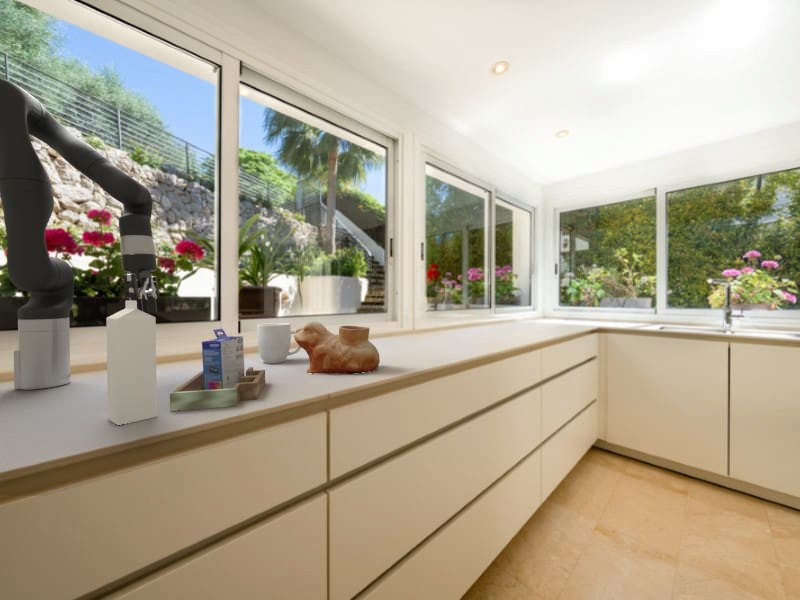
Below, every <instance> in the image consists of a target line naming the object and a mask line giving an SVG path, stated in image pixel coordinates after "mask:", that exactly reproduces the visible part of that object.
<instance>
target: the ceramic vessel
mask: <svg viewBox="0 0 800 600" xmlns="http://www.w3.org/2000/svg"><path fill="white" fill-rule="evenodd" d="M370 329H371V328H370V327H368V326H367V327H366V326H360V325H359V326H358V325H340V326H339V328H338V334H335V333H333V332H331V331H329V330H328V329H327V328H326V326H325V325H323V324H322V323H321V322H319V321H316V320H311V321H309V322H307V323H306V324H305V325H304V326H302V327H299V328H297V329H296V330H295V331H296V333H295V334H293V335H294V336H293V339H294V341H295V343H297V345H298V347H299V346H300V347H301V349H303V350H304V352H306V354H307V356H308V361H309V368H308V369H307V370H306V373H307V374H308V373H312V374H311V375H315V374H314V373H328V374H329V373H339V374H338V375H340V373H348V374H347V375H355V374H354V373H360V374H363V373H362V372H366V373H369V372H368V371H371V372H374V371H373V370H375V371H377V370H376V369H378V367H379V365H380V362H381V359H380V358H381V357H380V353H379V350H378V348H377V347H376V346H375V345H374V344H373V343H372V342H371V341H369V335H370ZM329 375H330V374H329Z"/></svg>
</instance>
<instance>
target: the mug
mask: <svg viewBox="0 0 800 600" xmlns="http://www.w3.org/2000/svg"><path fill="white" fill-rule="evenodd" d="M291 325H292V324H291V323H289V322H273V323H270V322H269V323H260V324H259V323H258V324H257V325H256V342H257V343H256V344H257V349H258V353H259V356H260V358H261V360H262V361H263V363H265V364H279V363H283V362H285V361H286V359H287V357H288V356H292V355H295V354H297V353H298V352H299V351H300V350H301V349H302V347H300V346H299V345H298V347H297V348H296V349H295V350H294V351H291V352H290V347H291V342H292V341H291V338H292V335H295V333H296V330H291Z"/></svg>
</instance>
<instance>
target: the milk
mask: <svg viewBox="0 0 800 600" xmlns="http://www.w3.org/2000/svg"><path fill="white" fill-rule="evenodd" d="M124 305H125V306H124V307H125V308H124V309H121V310H119V311H117V312H115V313H113V314H112V315H110V316H107V317H106V319H105V320H106V324H105V325H106V367H107V368H106V370H107V371H106V376H107V378H106V381H107V383H106V385H107V419H108V420H109V421H110V422H112V423H113V424H115V425H116V424H117V425H116V426H118V425H120V426H123V425H122V424H124V425H128V424H131V423H132V422H133V423H135V422H140V421H145V420H148V419H153V418H156V417H158V412H157V411H158V410H157V409H158V403H157V401H158V400H157V392H158V391H157V340H156V339H157V336H156V334H157V331H156V330H157V326H156V325H157V324H156V321H157V320H156V316H153V315H151V314H150V313H148V312H147V313H146V312H145V311H144V310H143V311H141V310H138V309H137V301H131V300H125V303H124ZM127 423H128V424H127Z"/></svg>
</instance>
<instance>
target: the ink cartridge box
mask: <svg viewBox="0 0 800 600" xmlns="http://www.w3.org/2000/svg"><path fill="white" fill-rule="evenodd" d="M213 332H214V333H213V334H215V337H216V338H213V339H209V340H204V341H201V350H202V351H201V353H202V355H201V356H202V371H203V377H204V387H203V388H204V389H203V390H214V389H229V388H232V387H233V386H234V385H235V384H236V383H240V378H241V377H242V376H246V373H245V354H244V353H245V352H244V349H245V348H244V336H238V335H237V336H235V335H234V336H233V335H231V336H229V335H228V336H227V334H226V332H225V330H224V329H223V328H219V329H213ZM219 332H220V333H221V334H219Z"/></svg>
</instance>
